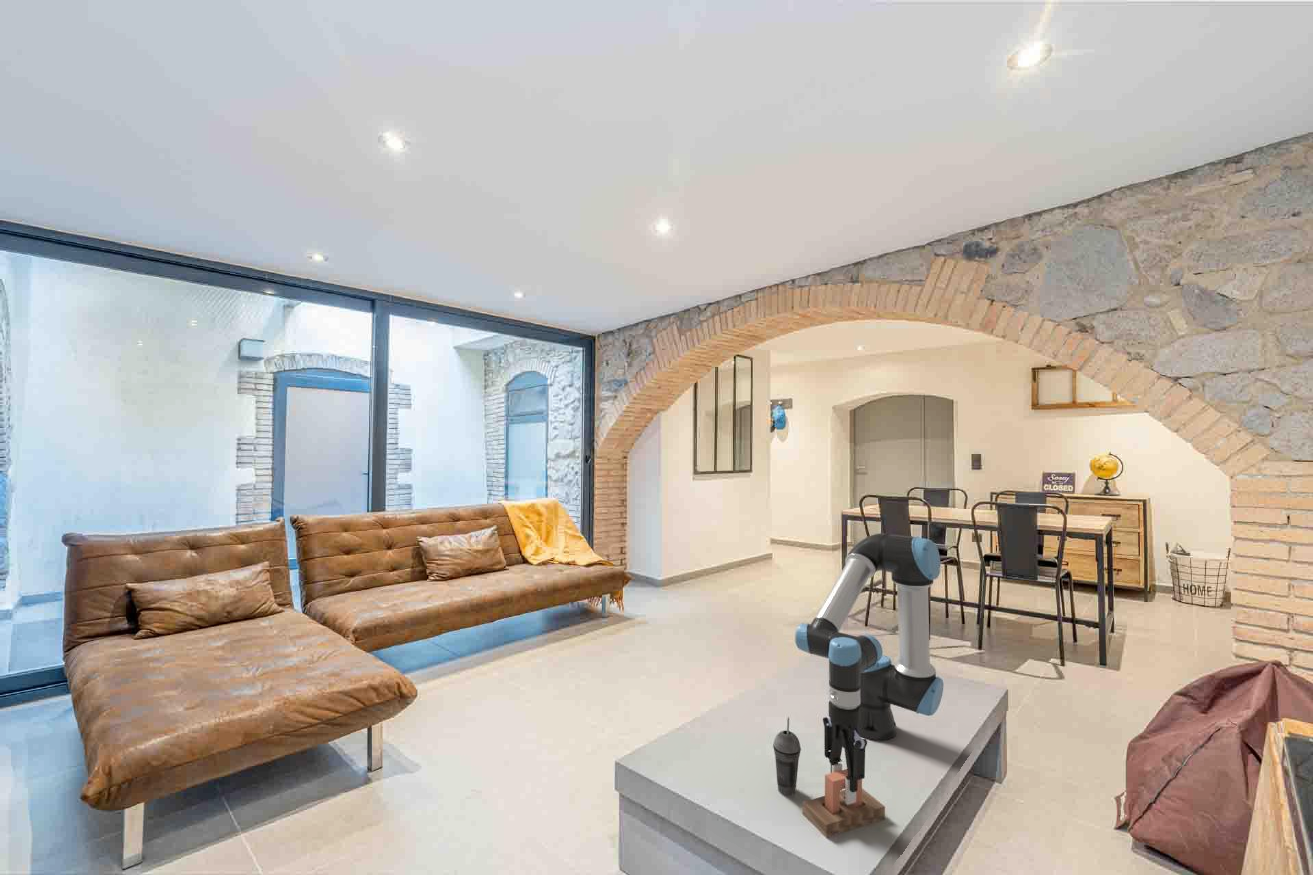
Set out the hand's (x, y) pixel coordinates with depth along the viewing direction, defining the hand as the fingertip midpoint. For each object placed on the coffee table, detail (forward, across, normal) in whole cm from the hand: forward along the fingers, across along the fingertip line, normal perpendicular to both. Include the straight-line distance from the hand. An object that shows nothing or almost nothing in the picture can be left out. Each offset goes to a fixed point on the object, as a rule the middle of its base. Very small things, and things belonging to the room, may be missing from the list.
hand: (843, 796), depth 141 cm
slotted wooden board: (+5, 0, 0) cm, 5 cm away
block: (+5, 0, 0) cm, 5 cm away
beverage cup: (+5, -14, -7) cm, 16 cm away
